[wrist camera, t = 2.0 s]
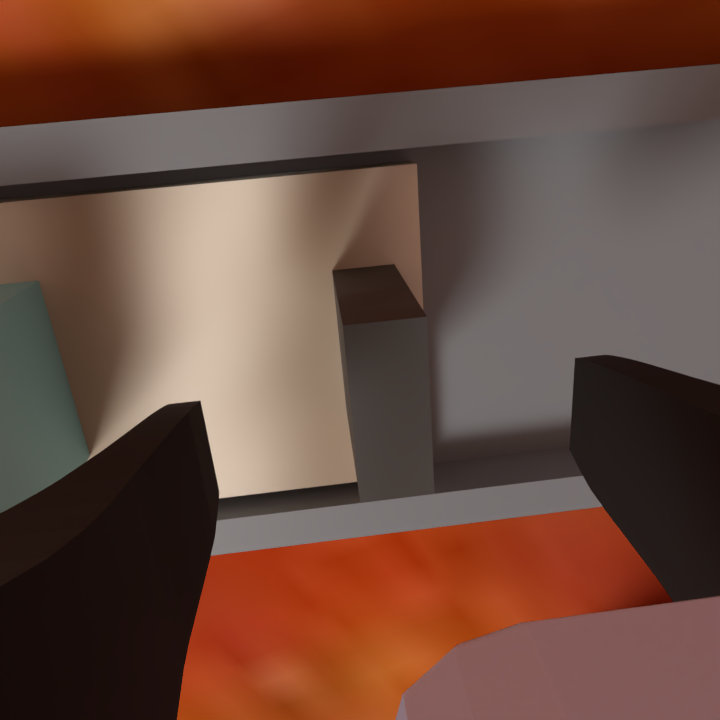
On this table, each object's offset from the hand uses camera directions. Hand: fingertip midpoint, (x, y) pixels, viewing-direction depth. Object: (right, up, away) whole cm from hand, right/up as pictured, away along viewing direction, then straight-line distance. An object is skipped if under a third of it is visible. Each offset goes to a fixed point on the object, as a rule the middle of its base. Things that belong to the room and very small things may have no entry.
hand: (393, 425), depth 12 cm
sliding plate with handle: (-7, +1, +5) cm, 9 cm away
